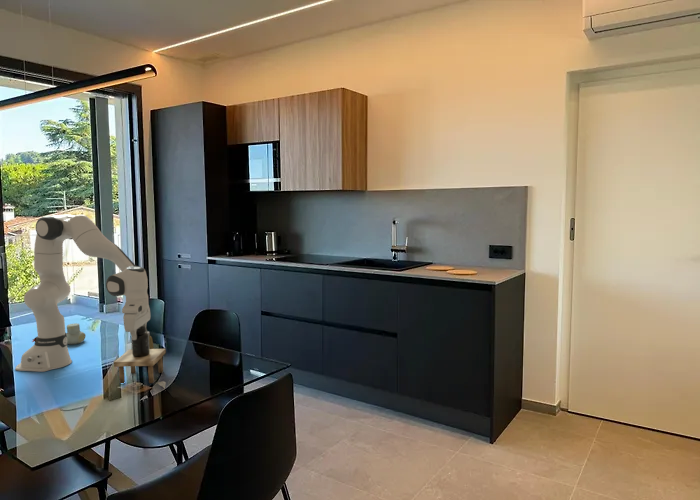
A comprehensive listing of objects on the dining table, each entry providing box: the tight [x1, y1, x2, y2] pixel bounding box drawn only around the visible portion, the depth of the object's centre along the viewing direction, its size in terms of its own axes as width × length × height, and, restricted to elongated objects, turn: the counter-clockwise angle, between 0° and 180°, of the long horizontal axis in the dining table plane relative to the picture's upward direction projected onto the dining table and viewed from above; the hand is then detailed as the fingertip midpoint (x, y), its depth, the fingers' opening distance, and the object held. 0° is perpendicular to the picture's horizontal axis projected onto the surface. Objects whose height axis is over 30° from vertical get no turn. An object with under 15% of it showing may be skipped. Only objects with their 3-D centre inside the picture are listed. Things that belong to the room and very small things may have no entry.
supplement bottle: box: [130, 326, 150, 357], centre depth 213 cm, size 7×7×12 cm
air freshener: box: [66, 322, 86, 345], centre depth 263 cm, size 11×8×10 cm
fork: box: [154, 380, 167, 390], centre depth 201 cm, size 3×21×3 cm, turn 42°
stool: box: [113, 348, 167, 384], centre depth 214 cm, size 16×16×10 cm
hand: (139, 336), depth 212 cm, fingers open, 8 cm apart
